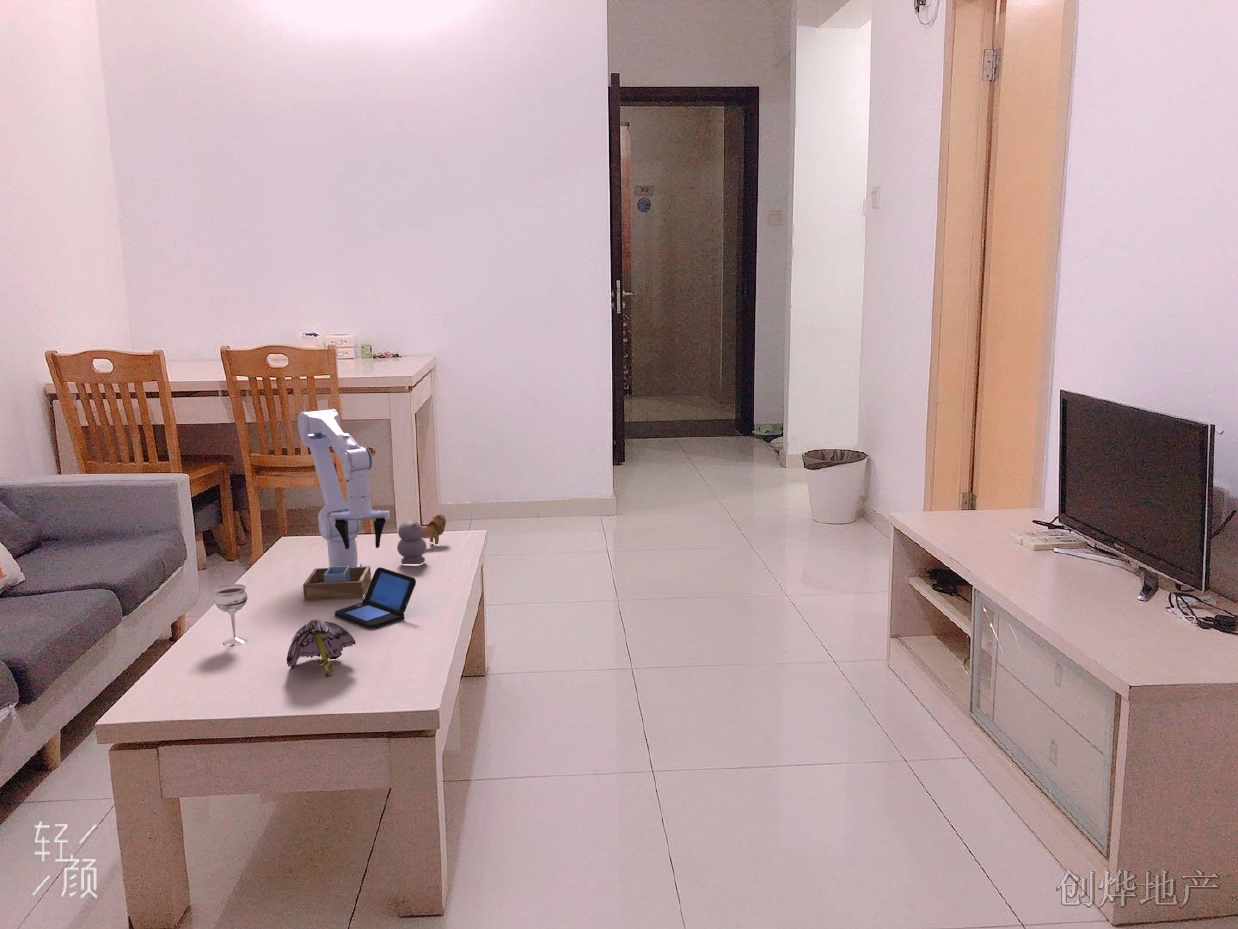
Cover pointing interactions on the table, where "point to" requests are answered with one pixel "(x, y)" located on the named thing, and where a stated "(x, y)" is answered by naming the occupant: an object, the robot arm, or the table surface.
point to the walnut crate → (337, 585)
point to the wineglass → (231, 604)
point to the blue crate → (337, 574)
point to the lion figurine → (434, 528)
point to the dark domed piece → (319, 643)
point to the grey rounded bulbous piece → (411, 543)
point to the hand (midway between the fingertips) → (362, 547)
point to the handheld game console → (381, 600)
